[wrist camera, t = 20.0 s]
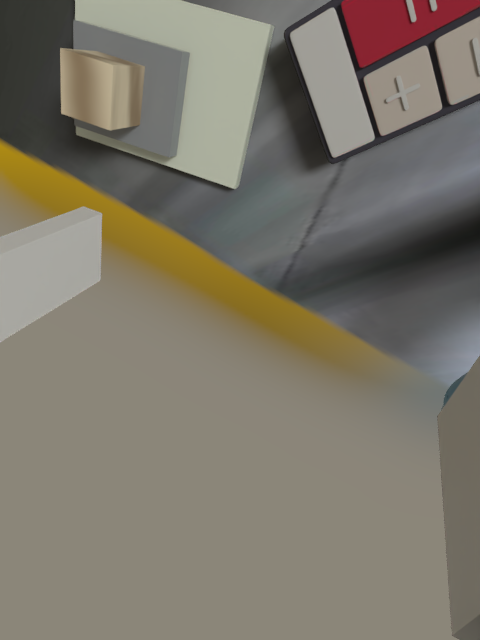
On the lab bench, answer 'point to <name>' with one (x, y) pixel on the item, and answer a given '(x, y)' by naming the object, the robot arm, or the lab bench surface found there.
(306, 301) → the lab bench surface
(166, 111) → the tile
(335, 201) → the lab bench surface
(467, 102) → the calculator
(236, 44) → the board
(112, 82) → the block
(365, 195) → the lab bench surface
